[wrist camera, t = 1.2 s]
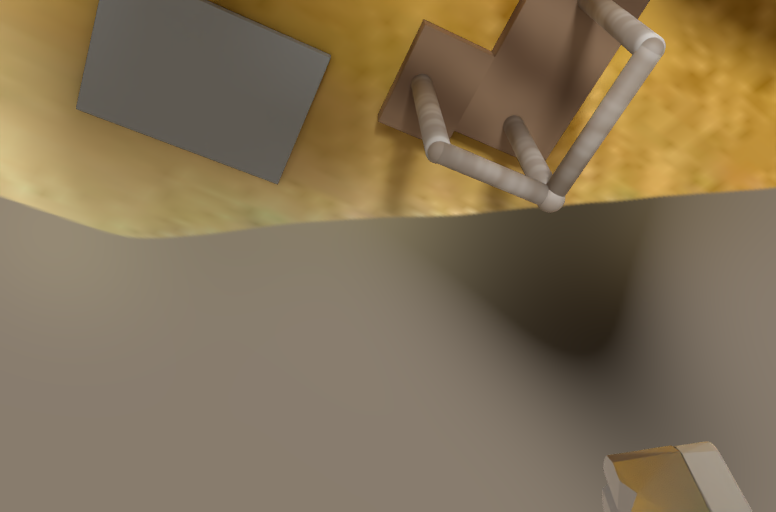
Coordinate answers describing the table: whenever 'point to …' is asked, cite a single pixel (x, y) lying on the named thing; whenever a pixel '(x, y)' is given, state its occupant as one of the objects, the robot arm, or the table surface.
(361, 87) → the table surface
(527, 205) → the table surface
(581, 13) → the buzz wire frame
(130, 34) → the mat
